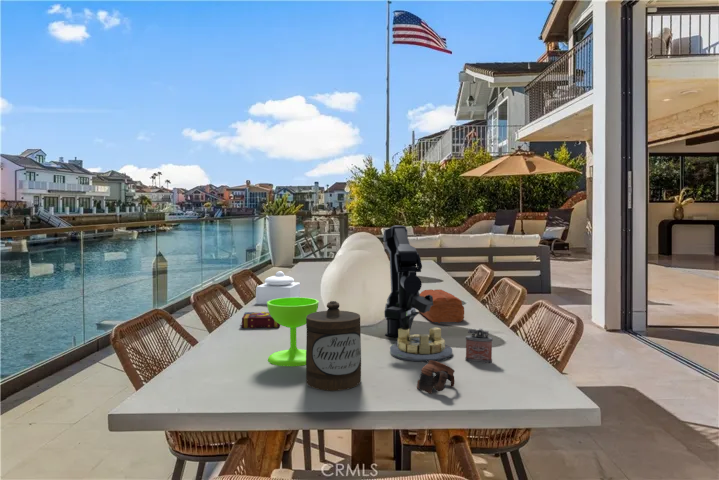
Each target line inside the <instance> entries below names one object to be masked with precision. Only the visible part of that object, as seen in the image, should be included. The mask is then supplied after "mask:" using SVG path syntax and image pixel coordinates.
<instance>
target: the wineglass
mask: <svg viewBox="0 0 719 480" xmlns="http://www.w3.org/2000/svg"><path fill="white" fill-rule="evenodd" d="M319 301H320V300H318V299H316V298H311V297H301V296H300V297H291V298H279V299H273V300H270V301H268V302H267V304H266V306H267V312H269V313H270V315H271V317H272V318H273V319H274V320H275V321H276V322H277V323H279V324H280V326H282V327H285V328H288V329H289V335H290V336H289V341H290V342H289V344H290V346H289V349H282V350H279V351H275V352H273V353H271V354H270V355H269V356H268V357H267V362H268V363H269V364H271V365H274V366H277V367H278V366H279V367H289V368H290V367H303V366H306V349H301V348H298V347H297V328H300V327H303V326H306V317H307V315H309V314H311V313H314V312H318V309H319V303H320V302H319Z"/></svg>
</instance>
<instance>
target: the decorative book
mask: <svg viewBox="0 0 719 480" xmlns="http://www.w3.org/2000/svg"><path fill="white" fill-rule="evenodd" d="M240 322H241V323H240V324H241V328H242V329H256V328H259V329H260V328H266V329H273V328H280V327H281V325H280V324H279V323H277V322H276V321H275V320H274V319H273V318H272V317H271V315H270V313H269V311H267V312H266V311H260V312H253V311H251V312H250V311H249V312H247V311H246V312H244V313H243V316H242V317H241V321H240Z"/></svg>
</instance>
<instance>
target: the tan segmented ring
mask: <svg viewBox="0 0 719 480" xmlns="http://www.w3.org/2000/svg"><path fill="white" fill-rule="evenodd" d="M410 333H411V329H409V328H399V329H398V337H397V338H396V339H397V342H396V343H397V347H398V349H399V350H402V351H404V352H408V353H415V354H418V353H419V354H430V353H432V354H433V353H438V352H442V351H443V350H444V349H445V345H446V340H445V339H444V338H442V328H440V327H431V328H429V334H428V333H420V334H410ZM412 338H419V343H412V342H410V339H412ZM429 339H431V340H432V343H429Z"/></svg>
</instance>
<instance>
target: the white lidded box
mask: <svg viewBox="0 0 719 480" xmlns="http://www.w3.org/2000/svg"><path fill="white" fill-rule="evenodd" d="M291 297H300V298H301V282H295V279H294V277H292V276H288V275H285V272H284V271H281V270H279V271H276V272H275V274H274V275H271V276H269V277H266V278H265V279H264V283H262V284H260V285H257V286H256V288H255V304H256V305H267V302H268V301H270V300H273V299H279V298H291Z"/></svg>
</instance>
